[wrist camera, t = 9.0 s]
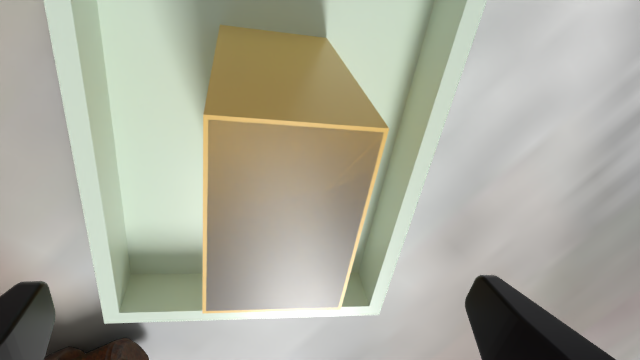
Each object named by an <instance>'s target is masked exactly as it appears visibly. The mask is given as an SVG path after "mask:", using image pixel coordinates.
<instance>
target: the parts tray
mask: <svg viewBox="0 0 640 360" xmlns="http://www.w3.org/2000/svg"><path fill="white" fill-rule="evenodd" d="M486 2H487V0H44V5H45V11H46V16H47V21H48V27H49V32H50V37H51V43H52V48H53V53H54V59H55V64H56V69H57V75H58V80H59V85H60V91H61V96H62V101H63V107H64V112H65V117H66V123H67V128H68V133H69V138H70V144H71V149H72V154H73V160H74V165H75V170H76V176H77V181H78V186H79V192H80V197H81V202H82V208H83V213H84V218H85V224H86V229H87V234H88V240H89V245H90V250H91V256H92V261H93V266H94V272H95V277H96V282H97V288H98V293H99V298H100V304H101V309H102V314H103V319H104V324H107V323H138V322H170V321H201V320H233V319H264V318H296V317H327V316H359V315H379V313H380V311H381V308H382V305H383V302H384V299H385V296H386V293H387V290H388V287H389V284H390V281H391V279H392V276H393V273H394V270H395V267H396V264H397V261H398V258H399V255H400V252H401V249H402V247H403V244H404V241H405V238H406V235H407V232H408V229H409V226H410V223H411V220H412V217H413V214H414V212H415V209H416V206H417V203H418V200H419V197H420V194H421V191H422V188H423V185H424V182H425V180H426V177H427V174H428V171H429V168H430V165H431V162H432V159H433V156H434V153H435V150H436V148H437V145H438V142H439V139H440V136H441V133H442V130H443V127H444V124H445V121H446V118H447V115H448V113H449V110H450V107H451V104H452V101H453V98H454V95H455V92H456V89H457V86H458V83H459V81H460V78H461V75H462V72H463V69H464V66H465V63H466V60H467V57H468V54H469V51H470V49H471V46H472V43H473V40H474V37H475V34H476V31H477V28H478V25H479V22H480V19H481V17H482V14H483V11H484V8H485V5H486ZM220 25H227V26H235V27H243V28H251V29H259V30H267V31H275V32H283V33H292V34H300V35H308V36H316V37H324V38H327V39H328V40H329V42H330V43H331V45H332V46H333V48H334V49H335V51H336V52H337V54H338V55H339V56H340V58H341V59H342V61H343V62H344V64H345V65H346V67H347V68H348V69H349V71H350V72H351V74H352V75H353V77H354V78H355V80H356V81H357V82H358V84H359V85H360V87H361V88H362V90H363V91H364V93H365V94H366V95H367V97H368V98H369V100H370V101H371V103H372V104H373V106H374V107H375V109H376V110H377V111H378V113H379V114H380V116H381V117H382V119H383V120H384V122H385V123H386V124H387V126H388V127H389V132H388V135H387V139H386V143H385V147H384V150H383V154H382V158H381V162H380V165H379V169H378V173H377V176H376V180H375V184H374V188H373V191H372V195H371V199H370V203H369V206H368V210H367V214H366V217H365V221H364V225H363V229H362V232H361V236H360V240H359V244H358V247H357V251H356V255H355V258H354V262H353V266H352V270H351V273H350V277H349V281H348V285H347V288H346V292H345V296H344V300H343V303H342V307H341V310H311V311H275V312H239V313H203V314H202V278H203V113H204V108H205V102H206V97H207V92H208V86H209V81H210V75H211V70H212V65H213V59H214V54H215V48H216V43H217V38H218V32H219V27H220Z"/></svg>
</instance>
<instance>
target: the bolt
mask: <svg viewBox="0 0 640 360" xmlns="http://www.w3.org/2000/svg"><path fill="white" fill-rule="evenodd" d="M44 360H149V358H148V355H147V354H146V353H145V351H144V350H143V349H142V348H141V347H140V346H139V345H138V344H136V343H135V342H133V341H132V340H130V339H127V338H122V339H119V340H115V341H113V342H110V343H109V344H106V345H104V346H102V347H99V348H97V349H95V350H92V351H90V352H88V353H86V354H85V353H84V352H83V351H81V350H79V349H76V348H72V347H66V348H64V349H62V350H60V351H57V352H55V353H53V354H50V355H49V356H47V357H46V358H44Z"/></svg>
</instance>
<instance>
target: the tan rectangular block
mask: <svg viewBox="0 0 640 360" xmlns="http://www.w3.org/2000/svg"><path fill="white" fill-rule="evenodd" d="M388 132H389V127H388V126H387V124H386V123H385V122H384V120H383V119H382V117H381V116H380V114H379V113H378V111H377V110H376V109H375V107H374V106H373V104H372V103H371V101H370V100H369V98H368V97H367V95H366V94H365V93H364V91H363V90H362V88H361V87H360V85H359V84H358V82H357V81H356V80H355V78H354V77H353V75H352V74H351V72H350V71H349V69H348V68H347V67H346V65H345V64H344V62H343V61H342V59H341V58H340V56H339V55H338V54H337V52H336V51H335V49H334V48H333V46H332V45H331V43H330V42H329V40H328V39H327V38H324V37H316V36H308V35H300V34H292V33H283V32H275V31H267V30H259V29H251V28H243V27H235V26H227V25H220V27H219V32H218V38H217V43H216V48H215V54H214V59H213V65H212V70H211V75H210V81H209V86H208V92H207V97H206V102H205V108H204V113H203V278H202V314H203V313H239V312H275V311H311V310H341V307H342V303H343V300H344V296H345V292H346V288H347V285H348V281H349V277H350V273H351V270H352V266H353V262H354V258H355V255H356V251H357V247H358V244H359V240H360V236H361V232H362V229H363V225H364V221H365V217H366V214H367V210H368V206H369V203H370V199H371V195H372V191H373V188H374V184H375V180H376V176H377V173H378V169H379V165H380V162H381V158H382V154H383V150H384V147H385V143H386V139H387V135H388Z"/></svg>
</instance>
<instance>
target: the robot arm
mask: <svg viewBox="0 0 640 360" xmlns="http://www.w3.org/2000/svg"><path fill="white" fill-rule="evenodd" d="M465 308H466V312H467V315H468V318H469V321H470V324H471V327H472V330H473V334H474V337H475V340H476V343H477V346H478V349H479V352H480V355H481V358H482V360H616V359H614V358H613V357H611V356H610V355H609V354H607V353H606V352H604V351H603V350H601V349H600V348H599V347H597V346H596V345H594V344H593V343H591V342H590V341H589V340H587V339H586V338H584V337H583V336H581V335H580V334H579V333H577V332H576V331H574V330H573V329H571V328H570V327H569V326H567V325H566V324H564V323H563V322H562V321H560V320H559V319H557V318H556V317H554V316H553V315H552V314H550V313H549V312H547V311H546V310H544V309H543V308H542V307H540V306H539V305H537V304H536V303H534V302H533V301H532V300H530V299H529V298H527V297H526V296H524V295H523V294H522V293H520V292H519V291H517V290H516V289H514V288H513V287H512V286H510V285H509V284H507V283H506V282H505V281H503V280H502V279H500V278H499V277H497V276H494V275H480V276H478V277H477V278H476V279H475V281H474V283H473V285H472V287H471V289H470V291H469V293H468V295H467V297H466V300H465ZM54 322H55V308H54V305H53V301H52V298H51V294H50V290H49V287H48V285H47V284H46V283H45V282H42V281H34V282H20V283H18V284H16V285H15V286H13V287H12V288H11V289H9V290H8V291H7V292H5V293H4V294H3V295H1V296H0V360H44V357H45V354H46V350H47V347H48V343H49V340H50V336H51V333H52V330H53V326H54Z"/></svg>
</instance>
